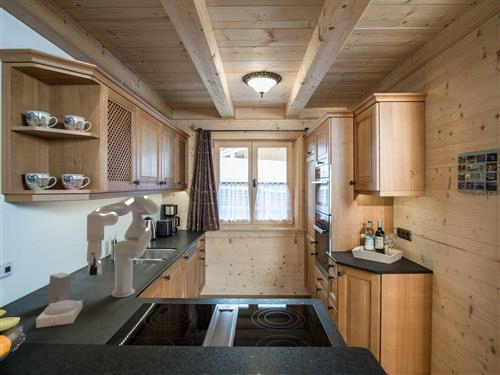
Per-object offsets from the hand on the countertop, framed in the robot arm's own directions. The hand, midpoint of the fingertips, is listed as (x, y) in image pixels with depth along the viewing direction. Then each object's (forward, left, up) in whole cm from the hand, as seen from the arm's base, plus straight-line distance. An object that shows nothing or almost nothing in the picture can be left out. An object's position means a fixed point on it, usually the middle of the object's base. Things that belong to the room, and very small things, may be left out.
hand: (94, 272), depth 131 cm
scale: (0, -14, -21) cm, 25 cm away
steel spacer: (0, 0, -1) cm, 1 cm away
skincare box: (-17, -20, -21) cm, 33 cm away
